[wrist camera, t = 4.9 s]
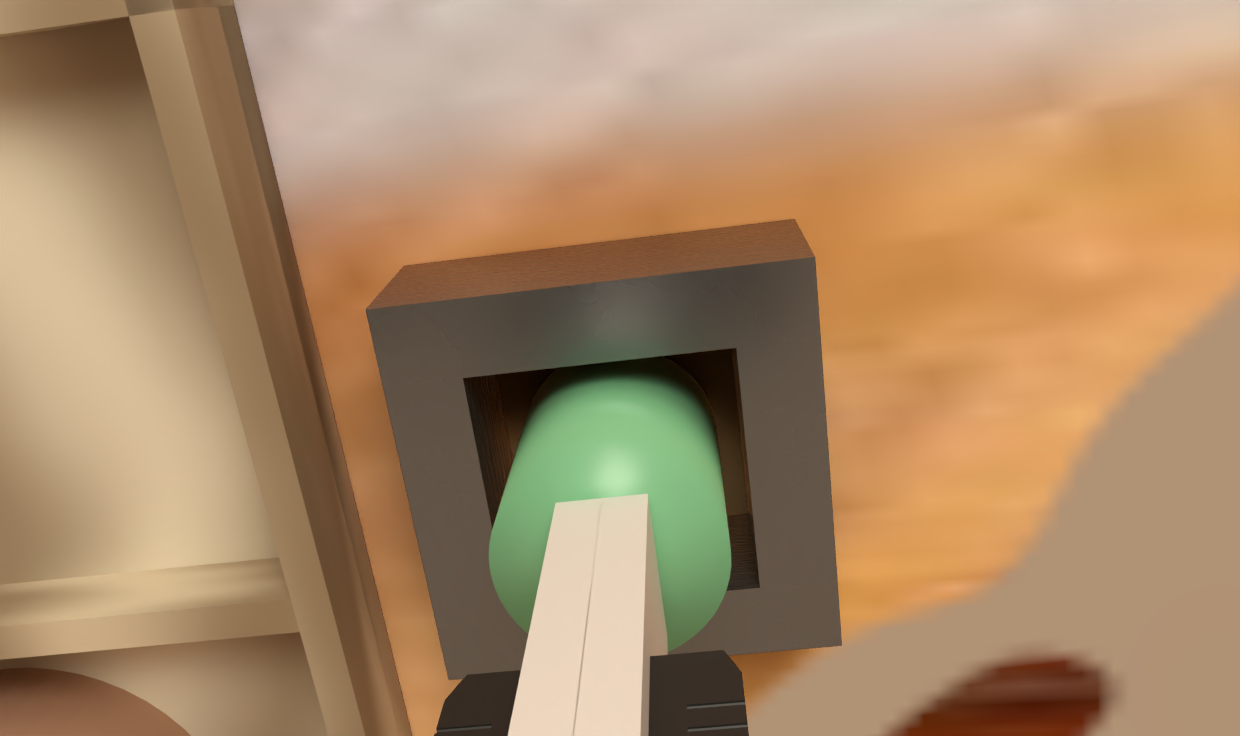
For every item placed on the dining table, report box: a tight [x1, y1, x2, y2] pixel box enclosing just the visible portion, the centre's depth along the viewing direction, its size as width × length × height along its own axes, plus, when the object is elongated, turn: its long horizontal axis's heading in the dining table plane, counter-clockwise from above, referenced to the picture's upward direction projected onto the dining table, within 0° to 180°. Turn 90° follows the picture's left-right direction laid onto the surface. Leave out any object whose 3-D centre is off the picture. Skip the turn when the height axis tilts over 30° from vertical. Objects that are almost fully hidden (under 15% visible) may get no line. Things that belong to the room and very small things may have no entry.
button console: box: [366, 219, 842, 680], centre depth 21 cm, size 8×8×3 cm
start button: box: [489, 356, 731, 652], centre depth 20 cm, size 4×4×5 cm
